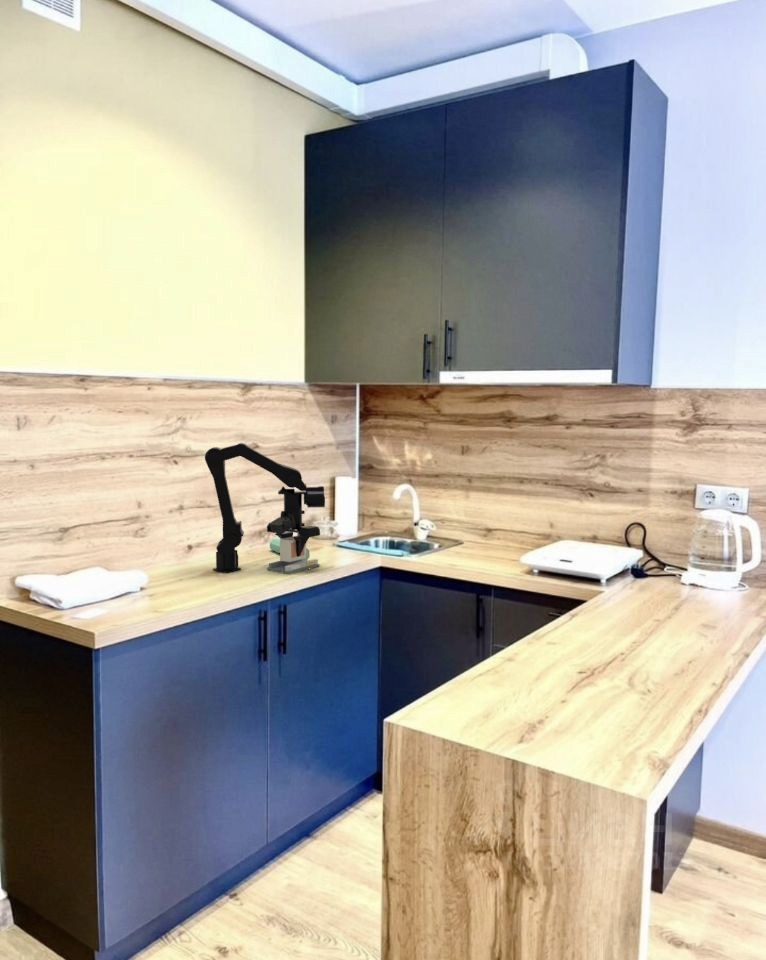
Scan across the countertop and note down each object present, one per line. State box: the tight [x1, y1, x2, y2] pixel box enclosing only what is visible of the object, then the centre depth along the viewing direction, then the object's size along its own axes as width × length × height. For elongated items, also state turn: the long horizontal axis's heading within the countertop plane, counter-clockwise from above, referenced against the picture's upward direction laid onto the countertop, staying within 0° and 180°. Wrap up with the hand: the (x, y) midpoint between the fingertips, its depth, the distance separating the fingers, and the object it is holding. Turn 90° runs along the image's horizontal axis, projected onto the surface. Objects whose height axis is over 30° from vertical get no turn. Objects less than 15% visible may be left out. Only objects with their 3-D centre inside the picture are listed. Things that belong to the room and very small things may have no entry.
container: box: [269, 538, 311, 561], centre depth 264 cm, size 6×6×25 cm
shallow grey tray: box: [266, 558, 321, 575], centre depth 244 cm, size 14×10×2 cm
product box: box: [279, 535, 307, 562], centre depth 243 cm, size 4×8×7 cm, turn 143°
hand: (293, 555), depth 244 cm, fingers closed on product box, 4 cm apart
